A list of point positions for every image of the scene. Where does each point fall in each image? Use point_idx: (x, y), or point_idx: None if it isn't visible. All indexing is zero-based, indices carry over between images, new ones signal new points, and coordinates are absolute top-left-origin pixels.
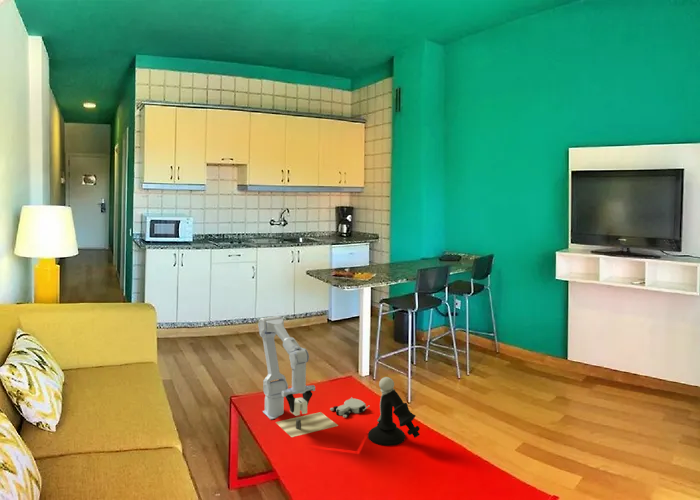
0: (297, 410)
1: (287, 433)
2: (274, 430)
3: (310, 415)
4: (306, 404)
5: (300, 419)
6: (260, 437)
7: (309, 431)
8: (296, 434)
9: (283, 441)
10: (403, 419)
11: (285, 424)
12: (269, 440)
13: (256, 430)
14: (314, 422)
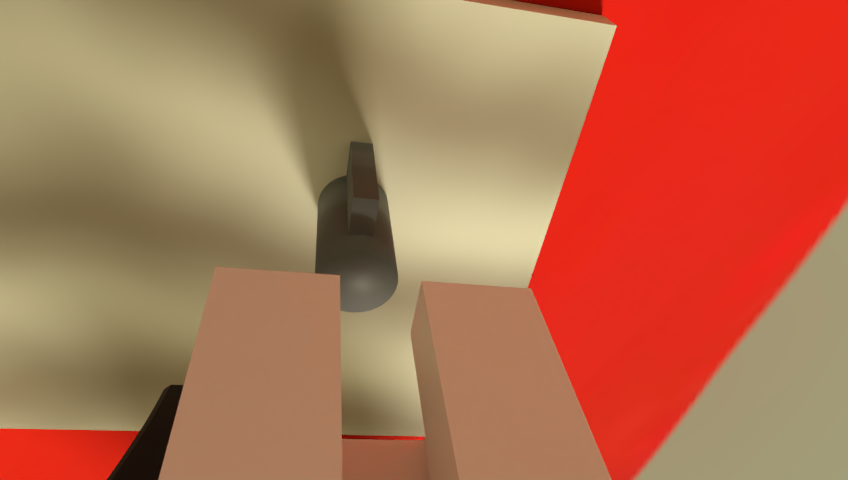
0: (512, 373)
1: (570, 157)
2: (568, 325)
3: (11, 405)
4: (198, 475)
5: None
6: (782, 273)
7: (263, 13)
8: (498, 55)
9: (711, 38)
10: None
11: None
12: (788, 166)
13: (685, 398)
14: (36, 227)
